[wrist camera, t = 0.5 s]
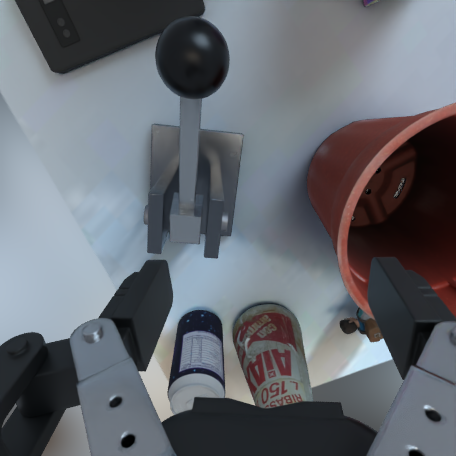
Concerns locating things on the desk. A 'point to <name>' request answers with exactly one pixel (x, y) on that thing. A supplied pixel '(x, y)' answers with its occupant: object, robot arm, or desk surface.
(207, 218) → the lever stand
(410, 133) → the flower pot
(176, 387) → the lidded canister
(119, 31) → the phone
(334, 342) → the desk surface
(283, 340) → the bottle
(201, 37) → the ball knob lever
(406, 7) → the desk surface
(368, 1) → the box
